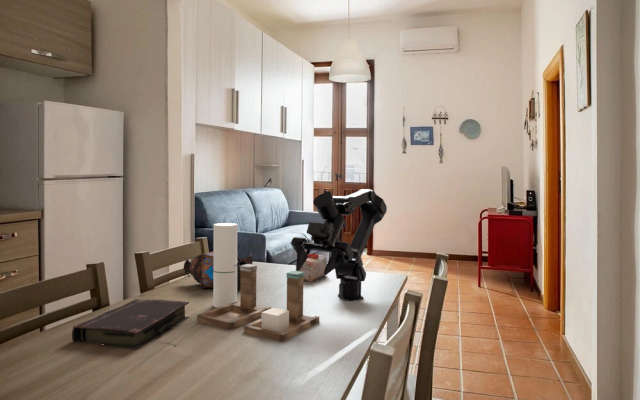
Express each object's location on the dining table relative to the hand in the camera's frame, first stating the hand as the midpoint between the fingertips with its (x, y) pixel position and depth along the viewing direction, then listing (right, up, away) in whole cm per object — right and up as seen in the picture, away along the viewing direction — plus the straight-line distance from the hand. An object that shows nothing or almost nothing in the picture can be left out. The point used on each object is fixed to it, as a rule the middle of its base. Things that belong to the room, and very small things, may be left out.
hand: (310, 272), depth 136 cm
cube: (-9, -13, -14) cm, 21 cm away
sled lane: (-7, -14, -11) cm, 19 cm away
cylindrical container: (-27, -12, +12) cm, 32 cm away
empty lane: (-21, -13, -3) cm, 25 cm away
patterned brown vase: (-34, -11, +36) cm, 51 cm away
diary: (-45, -14, -11) cm, 49 cm away
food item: (-1, -10, +50) cm, 51 cm away
